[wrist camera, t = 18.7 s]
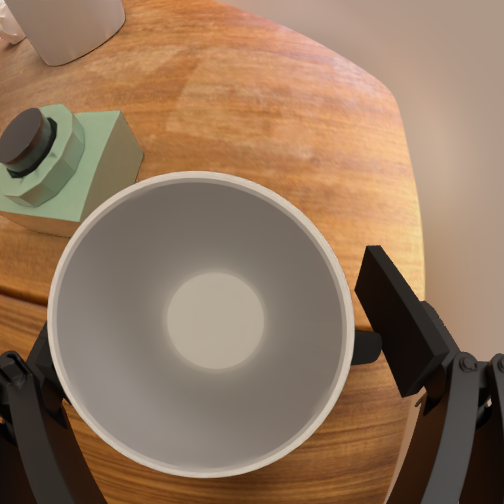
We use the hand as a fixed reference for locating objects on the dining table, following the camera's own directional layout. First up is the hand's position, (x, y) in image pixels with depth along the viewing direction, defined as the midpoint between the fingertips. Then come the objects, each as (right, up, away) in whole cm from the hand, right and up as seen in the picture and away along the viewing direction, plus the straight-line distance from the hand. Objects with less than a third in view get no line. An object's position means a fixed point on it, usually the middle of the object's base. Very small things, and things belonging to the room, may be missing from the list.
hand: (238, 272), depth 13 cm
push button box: (-14, +6, +8) cm, 17 cm away
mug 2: (0, -4, +4) cm, 5 cm away
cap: (-14, +8, 0) cm, 16 cm away
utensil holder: (-24, +32, +13) cm, 42 cm away
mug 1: (-45, +43, +14) cm, 64 cm away
